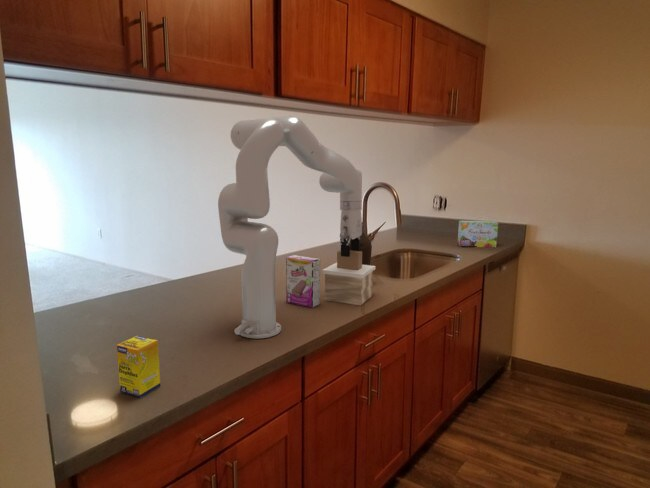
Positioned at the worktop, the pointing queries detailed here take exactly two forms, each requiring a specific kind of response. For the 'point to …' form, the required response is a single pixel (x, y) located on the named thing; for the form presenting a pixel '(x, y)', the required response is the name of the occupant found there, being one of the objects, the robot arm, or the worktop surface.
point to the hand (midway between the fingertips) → (350, 253)
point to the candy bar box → (303, 281)
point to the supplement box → (138, 366)
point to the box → (348, 289)
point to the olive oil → (364, 248)
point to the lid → (349, 266)
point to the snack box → (477, 233)
